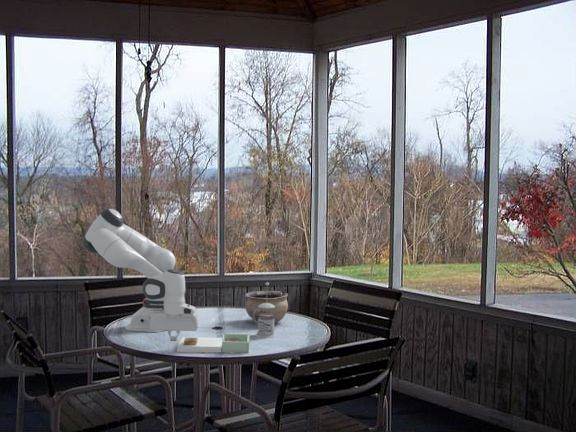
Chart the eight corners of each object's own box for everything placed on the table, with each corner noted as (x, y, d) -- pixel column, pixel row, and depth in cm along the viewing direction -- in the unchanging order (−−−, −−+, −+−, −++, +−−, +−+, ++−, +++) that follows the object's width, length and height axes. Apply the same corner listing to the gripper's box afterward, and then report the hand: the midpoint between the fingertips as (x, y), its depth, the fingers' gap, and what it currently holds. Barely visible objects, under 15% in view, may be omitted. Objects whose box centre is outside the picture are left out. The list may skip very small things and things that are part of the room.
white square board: (177, 352, 268) (177, 346, 268) (182, 342, 284) (182, 337, 284) (220, 352, 268) (220, 346, 268) (223, 343, 284) (223, 337, 284)
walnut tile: (226, 346, 278) (226, 341, 277) (227, 343, 283) (227, 338, 282) (238, 346, 278) (238, 341, 278) (238, 343, 283) (238, 339, 283)
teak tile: (184, 345, 270) (184, 340, 270) (185, 342, 275) (185, 337, 275) (196, 345, 270) (196, 340, 270) (197, 342, 275) (197, 337, 275)
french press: (271, 338, 295) (273, 284, 294) (248, 336, 299) (249, 282, 298) (279, 334, 305) (280, 281, 304) (256, 331, 309) (258, 280, 308)
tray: (222, 352, 269) (222, 341, 269) (224, 343, 284) (224, 333, 284) (248, 352, 269) (248, 342, 269) (249, 344, 284) (249, 334, 284)
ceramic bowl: (294, 326, 324) (294, 296, 323) (252, 328, 316) (253, 298, 315) (278, 317, 344) (279, 289, 344) (239, 319, 336) (240, 290, 336)
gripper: (148, 309, 268) (147, 342, 268) (197, 310, 269) (196, 343, 269) (150, 306, 274) (150, 338, 275) (199, 307, 275) (198, 339, 275)
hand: (173, 340), depth 272 cm, fingers closed
